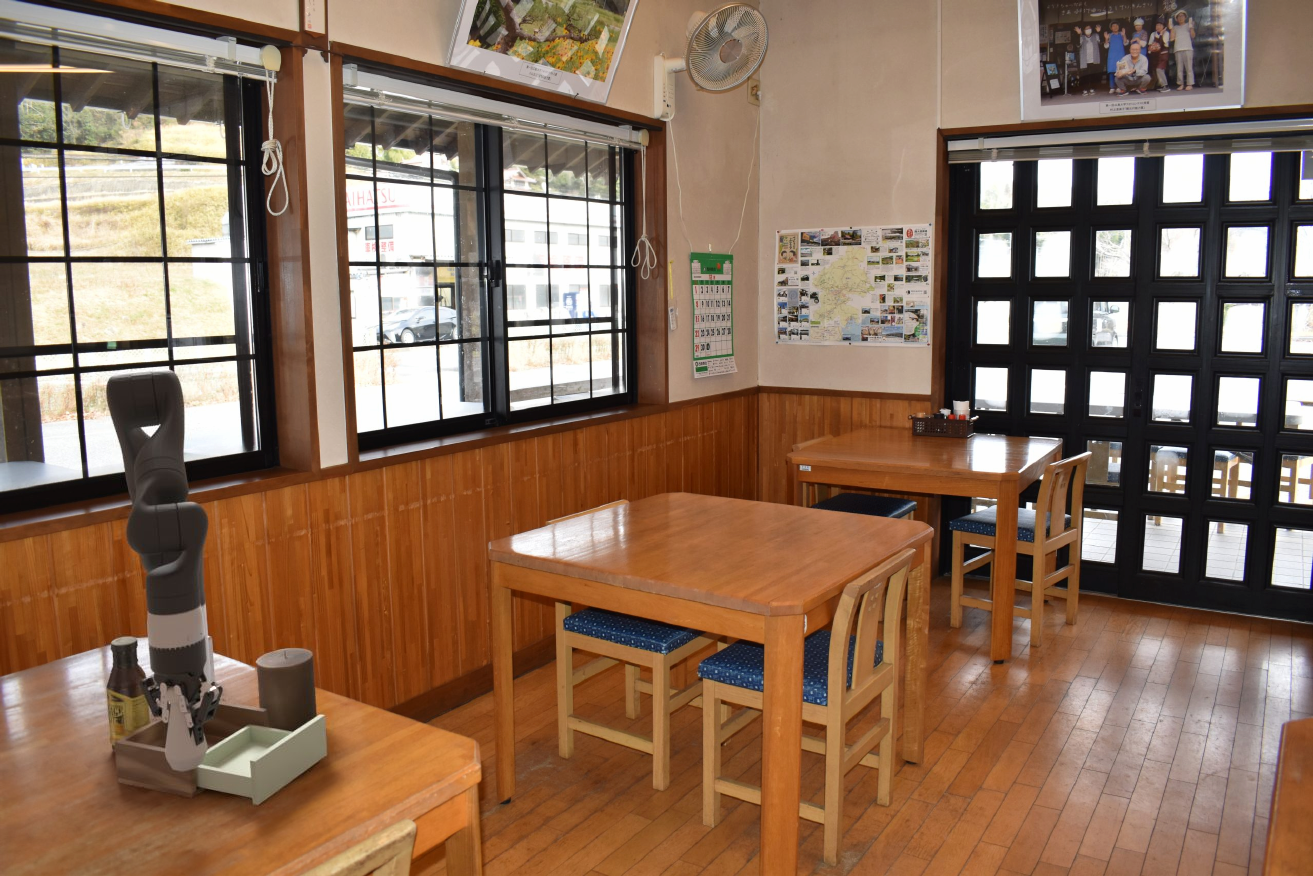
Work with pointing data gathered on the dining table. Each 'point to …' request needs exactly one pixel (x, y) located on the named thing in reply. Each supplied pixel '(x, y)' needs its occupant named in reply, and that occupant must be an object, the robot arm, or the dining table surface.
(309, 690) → the pillar candle
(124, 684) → the sauce bottle
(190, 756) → the salt shaker
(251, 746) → the drawer
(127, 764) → the cabinet
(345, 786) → the dining table surface
